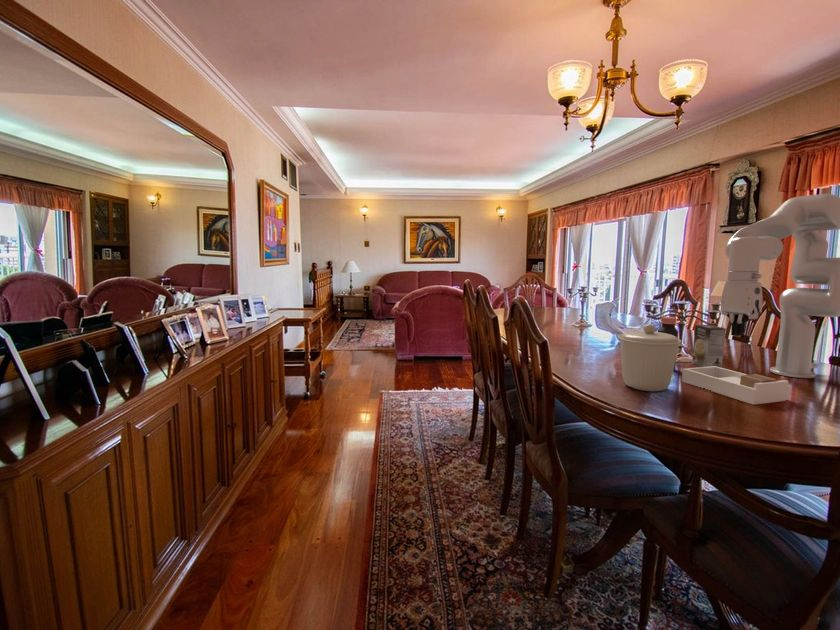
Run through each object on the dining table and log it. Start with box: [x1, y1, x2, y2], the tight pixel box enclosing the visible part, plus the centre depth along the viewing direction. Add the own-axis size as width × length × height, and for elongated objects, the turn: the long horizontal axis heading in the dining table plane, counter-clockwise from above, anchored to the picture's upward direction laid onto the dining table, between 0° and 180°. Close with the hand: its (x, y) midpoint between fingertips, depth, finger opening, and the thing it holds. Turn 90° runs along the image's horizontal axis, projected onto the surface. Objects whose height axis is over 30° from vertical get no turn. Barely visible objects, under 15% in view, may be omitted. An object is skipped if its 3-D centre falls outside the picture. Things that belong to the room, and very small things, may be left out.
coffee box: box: [691, 324, 727, 368], centre depth 162 cm, size 9×6×16 cm
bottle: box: [657, 316, 679, 372], centre depth 158 cm, size 7×7×20 cm
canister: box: [617, 323, 683, 392], centre depth 135 cm, size 18×18×21 cm
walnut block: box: [740, 373, 778, 388], centre depth 125 cm, size 6×6×4 cm
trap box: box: [681, 366, 791, 405], centre depth 133 cm, size 14×24×6 cm, turn 15°
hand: (737, 335), depth 131 cm, fingers closed
